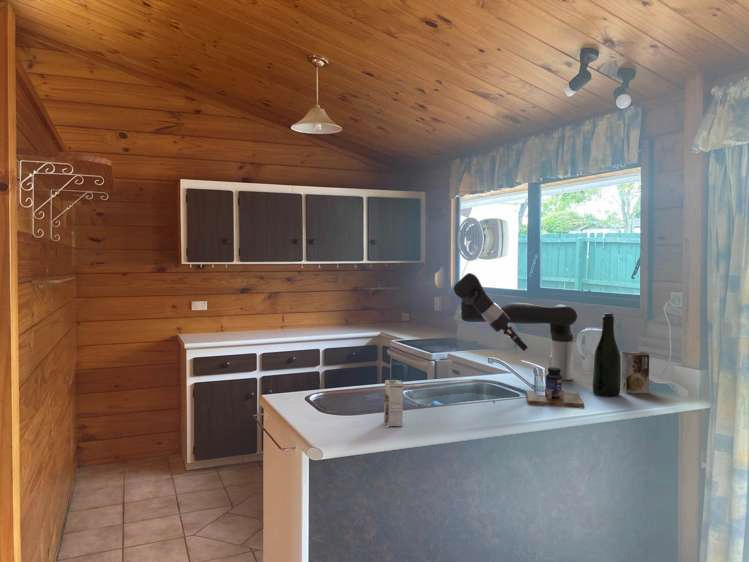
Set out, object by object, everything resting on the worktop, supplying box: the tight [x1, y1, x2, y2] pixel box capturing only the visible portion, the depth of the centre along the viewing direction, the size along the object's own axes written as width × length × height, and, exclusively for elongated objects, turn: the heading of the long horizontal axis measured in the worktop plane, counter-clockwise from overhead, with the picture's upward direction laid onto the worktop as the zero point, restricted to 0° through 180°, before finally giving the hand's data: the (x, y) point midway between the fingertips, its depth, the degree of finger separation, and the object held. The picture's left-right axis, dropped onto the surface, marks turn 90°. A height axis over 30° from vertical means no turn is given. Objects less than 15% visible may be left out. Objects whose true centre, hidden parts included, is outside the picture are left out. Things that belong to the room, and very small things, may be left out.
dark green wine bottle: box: [592, 312, 622, 398], centre depth 238 cm, size 10×10×33 cm
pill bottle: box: [544, 367, 563, 398], centre depth 228 cm, size 6×6×11 cm
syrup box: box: [383, 379, 404, 427], centre depth 196 cm, size 6×6×14 cm
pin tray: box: [525, 390, 585, 409], centre depth 228 cm, size 20×16×5 cm
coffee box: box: [620, 351, 650, 394], centre depth 243 cm, size 9×6×16 cm
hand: (524, 347), depth 230 cm, fingers open, 8 cm apart
